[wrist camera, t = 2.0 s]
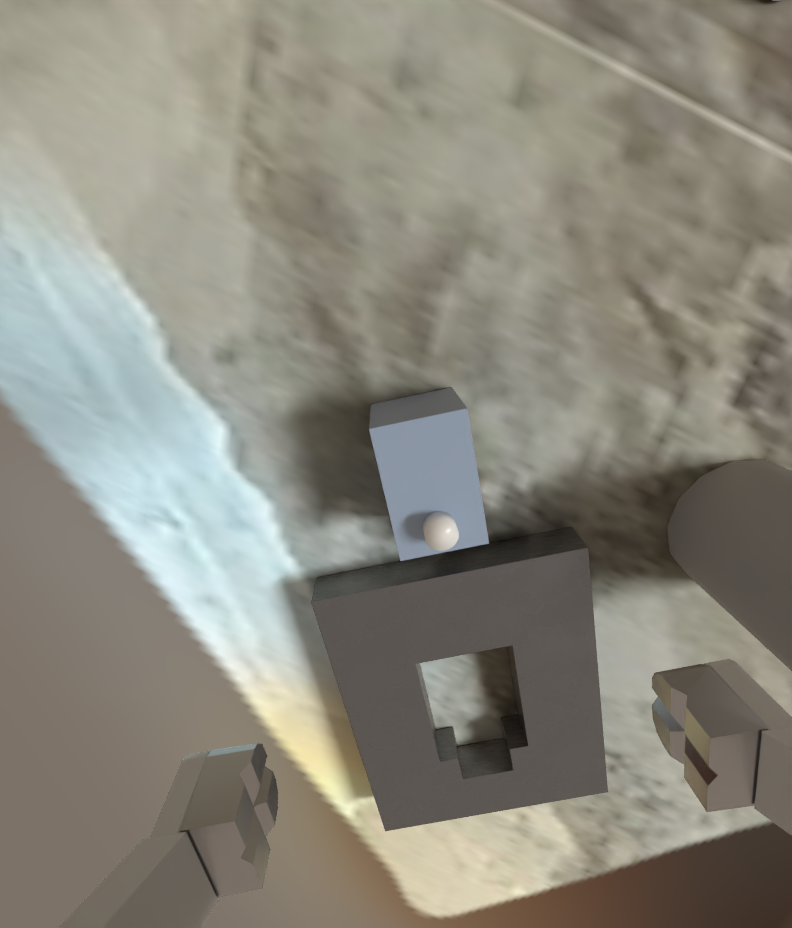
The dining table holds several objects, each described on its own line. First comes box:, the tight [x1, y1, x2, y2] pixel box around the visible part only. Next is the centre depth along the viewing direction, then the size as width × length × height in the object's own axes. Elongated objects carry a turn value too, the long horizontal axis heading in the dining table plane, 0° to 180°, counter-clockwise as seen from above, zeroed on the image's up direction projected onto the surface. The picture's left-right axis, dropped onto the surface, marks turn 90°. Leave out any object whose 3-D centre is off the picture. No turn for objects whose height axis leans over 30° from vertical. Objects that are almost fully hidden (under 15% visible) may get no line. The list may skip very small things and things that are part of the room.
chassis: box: [311, 527, 608, 831], centre depth 32 cm, size 16×20×2 cm
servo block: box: [369, 387, 489, 561], centre depth 25 cm, size 4×8×6 cm, turn 12°
